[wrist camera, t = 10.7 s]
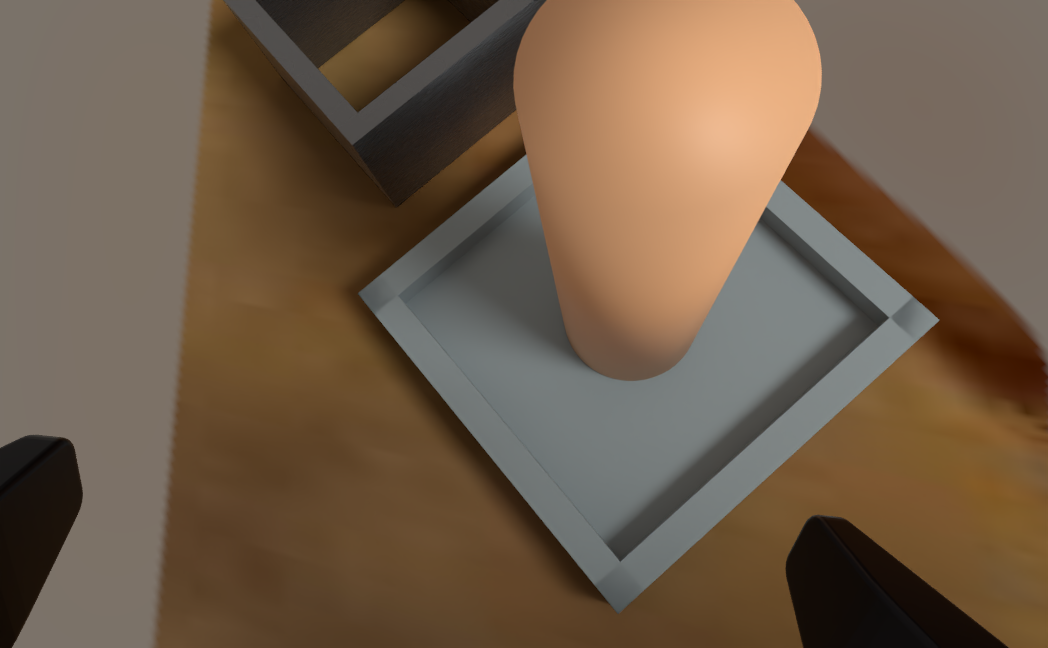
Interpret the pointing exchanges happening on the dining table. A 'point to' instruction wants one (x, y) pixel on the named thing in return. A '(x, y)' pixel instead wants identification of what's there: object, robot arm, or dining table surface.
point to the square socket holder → (413, 101)
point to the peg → (656, 157)
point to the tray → (646, 405)
